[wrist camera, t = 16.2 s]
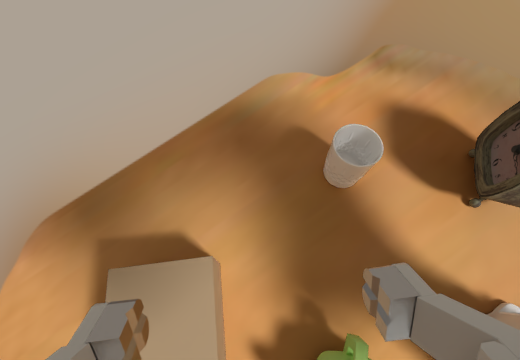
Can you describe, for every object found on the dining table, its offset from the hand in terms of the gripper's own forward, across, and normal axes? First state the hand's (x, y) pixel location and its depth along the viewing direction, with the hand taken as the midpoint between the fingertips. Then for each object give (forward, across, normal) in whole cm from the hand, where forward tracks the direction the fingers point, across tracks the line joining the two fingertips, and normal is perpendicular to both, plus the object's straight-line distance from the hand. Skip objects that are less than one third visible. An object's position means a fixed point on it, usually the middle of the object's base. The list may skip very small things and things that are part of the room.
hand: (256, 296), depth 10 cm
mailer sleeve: (+23, +13, +27) cm, 38 cm away
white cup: (+39, -18, +11) cm, 45 cm away
